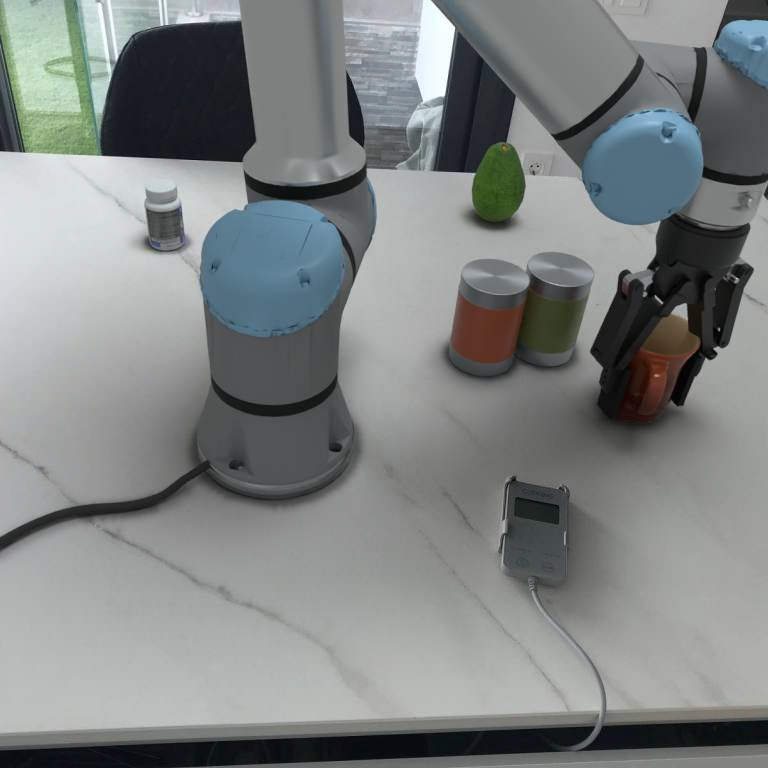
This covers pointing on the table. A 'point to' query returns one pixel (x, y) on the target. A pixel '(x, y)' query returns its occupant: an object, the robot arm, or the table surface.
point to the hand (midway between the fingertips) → (639, 404)
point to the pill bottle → (164, 215)
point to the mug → (657, 370)
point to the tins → (519, 312)
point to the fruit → (498, 183)
